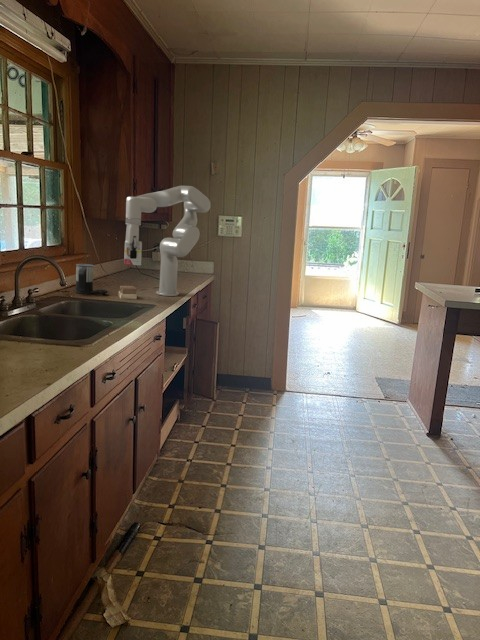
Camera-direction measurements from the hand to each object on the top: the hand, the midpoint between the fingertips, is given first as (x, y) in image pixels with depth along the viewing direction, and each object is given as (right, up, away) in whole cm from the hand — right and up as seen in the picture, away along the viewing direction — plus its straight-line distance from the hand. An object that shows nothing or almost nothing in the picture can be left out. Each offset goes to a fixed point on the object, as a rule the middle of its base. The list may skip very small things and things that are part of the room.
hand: (131, 257), depth 247 cm
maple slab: (-4, -21, +6) cm, 22 cm away
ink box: (0, -4, +1) cm, 4 cm away
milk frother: (-23, -18, +7) cm, 30 cm away
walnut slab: (-3, -18, +5) cm, 19 cm away
